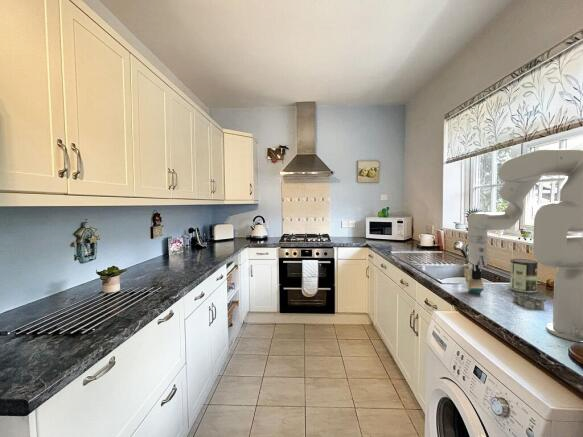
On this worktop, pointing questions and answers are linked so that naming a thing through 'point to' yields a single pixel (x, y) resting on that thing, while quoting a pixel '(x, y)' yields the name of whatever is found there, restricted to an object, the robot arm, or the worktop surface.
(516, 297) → the egg carton
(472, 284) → the maple block
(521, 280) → the coffee can
